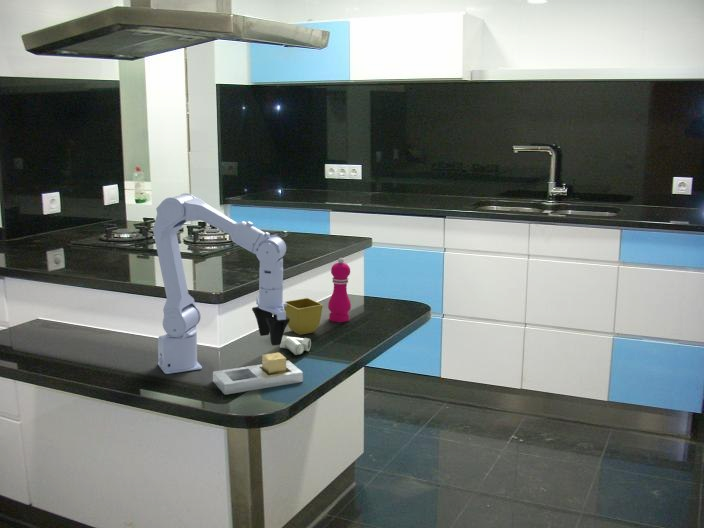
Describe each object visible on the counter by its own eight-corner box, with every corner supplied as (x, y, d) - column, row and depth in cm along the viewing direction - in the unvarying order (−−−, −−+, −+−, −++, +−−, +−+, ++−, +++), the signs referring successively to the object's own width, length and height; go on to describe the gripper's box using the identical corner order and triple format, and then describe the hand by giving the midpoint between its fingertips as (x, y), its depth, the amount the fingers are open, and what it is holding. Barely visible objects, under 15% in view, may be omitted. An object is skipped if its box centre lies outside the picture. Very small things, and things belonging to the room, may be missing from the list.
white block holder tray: (224, 394, 170) (224, 384, 170) (212, 381, 178) (212, 371, 177) (302, 381, 180) (303, 372, 179) (288, 369, 187) (288, 360, 187)
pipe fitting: (303, 358, 197) (310, 349, 203) (303, 345, 196) (310, 336, 202) (275, 355, 199) (283, 345, 205) (275, 342, 198) (283, 332, 204)
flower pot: (297, 338, 211) (298, 308, 209) (282, 330, 218) (282, 301, 216) (322, 333, 216) (323, 304, 214) (306, 325, 223) (307, 297, 221)
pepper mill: (325, 316, 233) (326, 255, 229) (346, 315, 235) (348, 255, 231) (331, 323, 226) (333, 260, 222) (353, 322, 229) (355, 260, 224)
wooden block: (269, 383, 178) (269, 360, 176) (262, 377, 181) (262, 354, 180) (285, 381, 180) (286, 358, 178) (278, 374, 184) (279, 352, 182)
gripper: (298, 292, 172) (296, 346, 175) (275, 278, 185) (274, 329, 188) (270, 295, 169) (269, 350, 172) (248, 280, 181) (248, 332, 184)
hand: (270, 339), depth 180 cm, fingers open, 7 cm apart
